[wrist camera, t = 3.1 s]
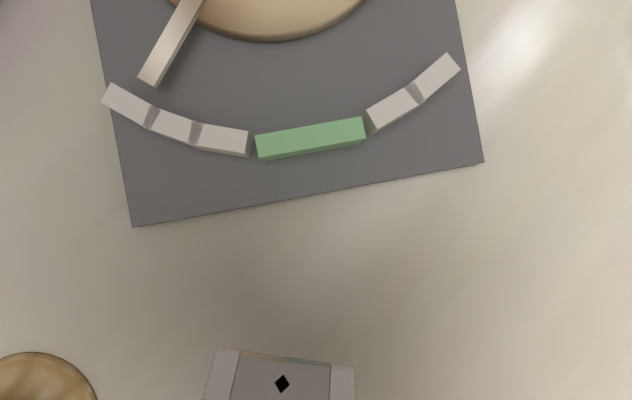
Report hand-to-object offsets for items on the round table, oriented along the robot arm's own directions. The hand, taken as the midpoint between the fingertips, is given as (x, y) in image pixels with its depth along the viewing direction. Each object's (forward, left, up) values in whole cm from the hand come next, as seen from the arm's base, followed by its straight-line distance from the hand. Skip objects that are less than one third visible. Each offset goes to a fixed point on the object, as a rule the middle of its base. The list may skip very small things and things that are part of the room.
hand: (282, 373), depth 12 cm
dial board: (-15, +9, -21) cm, 27 cm away
